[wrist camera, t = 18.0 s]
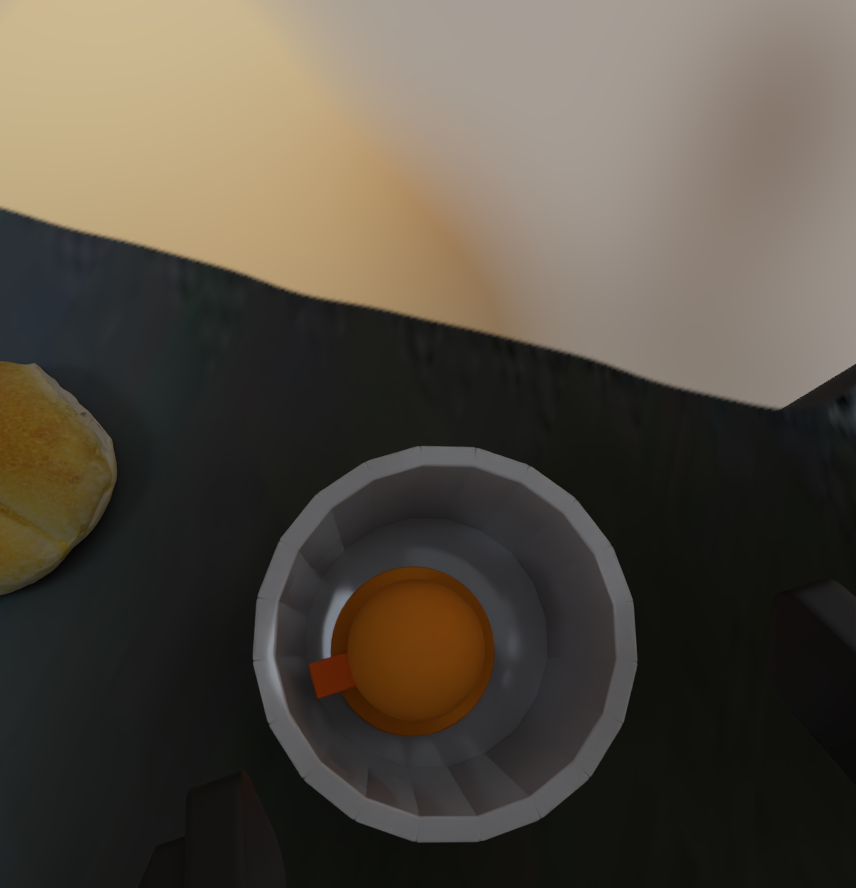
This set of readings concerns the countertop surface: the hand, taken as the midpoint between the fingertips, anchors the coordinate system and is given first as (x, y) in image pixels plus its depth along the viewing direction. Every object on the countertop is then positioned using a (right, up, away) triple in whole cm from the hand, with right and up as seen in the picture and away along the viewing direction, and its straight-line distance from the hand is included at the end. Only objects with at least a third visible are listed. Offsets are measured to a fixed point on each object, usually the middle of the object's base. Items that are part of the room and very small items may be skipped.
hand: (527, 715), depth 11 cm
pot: (-2, -3, +18) cm, 18 cm away
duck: (-2, -4, +17) cm, 18 cm away
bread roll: (-18, +2, +18) cm, 26 cm away
